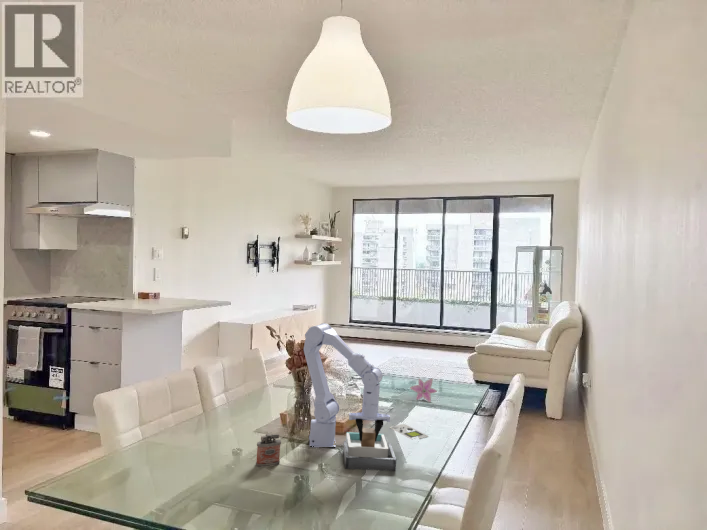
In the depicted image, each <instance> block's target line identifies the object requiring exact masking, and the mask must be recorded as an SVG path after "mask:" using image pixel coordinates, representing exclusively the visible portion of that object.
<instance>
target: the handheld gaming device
mask: <svg viewBox="0 0 707 530" xmlns="http://www.w3.org/2000/svg"><path fill="white" fill-rule="evenodd" d="M389 429H390V430H393V431H395V432H397V433H398V434H400V435H403V436H405V437H407V438H409V439H411V440H416V439H417V437H418V439H419V440H421V438H422V439H425V438H429V435H428V434H426V433H423V432H421V431H419V430H417V429H415V428H413V427H411V426H409V425H408V424H406V423H402V424H396V425H392V426H390V427H389ZM408 431H409V432H408Z"/></svg>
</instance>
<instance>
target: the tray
mask: <svg viewBox="0 0 707 530" xmlns="http://www.w3.org/2000/svg"><path fill="white" fill-rule="evenodd" d="M345 441H347V446H348V453H349V456H354V457H378V458H388V442H387V440H386V437H385V434H384V433H379V434H378V436H377V440H376V442H375V447H361V441H360V437H359V432H351V431H349V432H348V431H346V436H345Z"/></svg>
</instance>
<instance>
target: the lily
mask: <svg viewBox="0 0 707 530" xmlns="http://www.w3.org/2000/svg"><path fill="white" fill-rule="evenodd" d="M433 382H434V378H429V379H427V380H425V381H424V380H422V379H421V378H418V384H415V385H412V386H411V387H409V390H412V391H414V392H415V393H417V394H416V397H415V399H416V401H418V400H420V399H422V398H423V399H425V401H426V402H428V403H431V402H432V395H431V394H436V393H437V392H438V390H437V389H435V388H433V387H432V386H433Z"/></svg>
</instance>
